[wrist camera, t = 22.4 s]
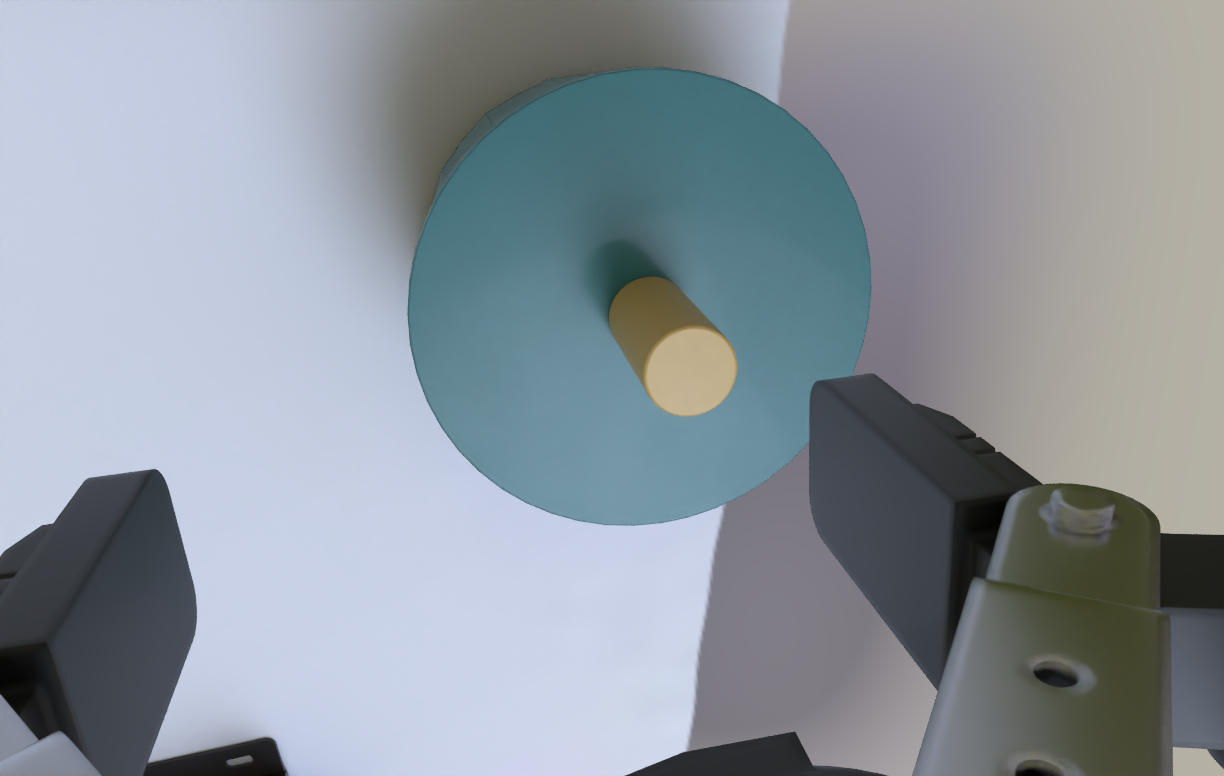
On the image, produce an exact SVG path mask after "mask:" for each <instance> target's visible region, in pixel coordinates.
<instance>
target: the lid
mask: <svg viewBox="0 0 1224 776" xmlns="http://www.w3.org/2000/svg"><path fill="white" fill-rule="evenodd" d="M870 297H871V270H870V256H869V250H868V245H867V239H866V233H865V229H864V225H863V222H862V219H861V216H860V213H859V210H858V207H857V203H856V201H855V199H854V197H853V195H852V193H851V191H850V188H849V187H848V184H847V182H846V180H845V178H844V176H843V174H842V173H841V171H840V170H839V168H838V167H837V165H836V164H835V162H834V161H833V160H832V158H831V156H830V155H829V153H828V152H827V151H826V149H825V148H824V147H823V146H822V145H821V144H820V143H819V142H818V140H817V139H816V138H815V137H814V136H813V135H812V134H811V133H810V131H809V130H808V129H807V128H806V127H804V126H803V125H802V124H801V123H800V122H798V121H797V120H796V119H795V118H794V117H793V116H791V115H790V114H789V113H788V112H787V111H785V110H784V109H783V108H781V107H779V106H778V105H776V104H775V103H773V102H771V101H770V100H768V99H767V98H765V97H763V96H762V95H760V94H759V93H757V92H754V91H752V90H750V89H747V88H745V87H743V86H740V85H738V84H736V83H734V82H731V81H729V80H725V79H722V78H718V77H714V76H711V75H707V74H703V73H700V72H695V71H688V70H680V69H672V68H664V67H646V68H625V69H619V70H612V71H606V72H600V73H595V74H592V75H588V76H585V77H582V78H579V79H575V80H572V81H569V82H566V83H563V84H561V85H559V86H557V87H555V88H552V89H550V90H548V91H546V92H544V93H542V94H539V95H537V96H535V97H533V98H532V99H530V100H529V101H527V102H526V103H524V104H522V105H521V106H519V107H518V108H516V109H515V110H513V111H512V112H510V113H508V114H507V115H506V116H504V117H503V118H502V119H501V120H500V121H499V122H497V123H496V124H495V125H494V126H493V127H491V128H490V129H489V130H488V131H487V132H486V133H484V134H483V135H482V136H481V137H480V138H479V139H478V140H477V141H476V142H475V144H474V145H473V146H472V147H471V148H470V149H469V150H468V151H467V152H466V154H465V155H464V156H463V157H462V158H461V159H460V160H459V162H458V163H457V164H456V166H455V167H454V169H453V170H452V172H451V173H450V175H449V176H448V178H447V179H446V181H445V182H444V183H443V185H442V186H441V188H440V190H439V192H438V194H437V196H436V198H435V200H434V202H433V204H432V206H431V208H430V210H429V212H428V214H427V216H426V218H425V221H424V224H423V227H422V230H421V233H420V236H419V239H418V242H417V245H416V248H415V253H414V258H413V263H412V268H411V273H410V279H409V297H408V325H409V337H410V346H411V351H412V355H413V359H414V364H415V368H416V373H417V376H418V379H419V381H420V384H421V386H422V389H423V392H424V394H425V397H426V400H427V402H428V404H429V406H430V408H431V409H432V411H433V413H434V415H435V417H436V419H437V420H438V422H439V424H440V426H441V428H442V429H443V430H444V432H445V433H446V434H447V436H448V437H449V438H450V440H451V441H452V442H453V444H454V445H455V446H456V448H457V449H458V450H459V452H460V453H461V454H462V455H463V456H464V457H465V458H466V459H467V460H468V461H469V462H470V463H471V464H472V465H473V466H474V467H475V468H476V469H477V470H478V471H479V472H481V473H482V474H483V475H484V476H486V477H487V478H488V479H490V480H491V481H492V482H493V483H495V484H496V485H497V486H499V487H500V488H501V489H503V490H505V491H506V492H508V493H510V494H512V495H513V496H515V497H517V498H519V499H520V500H522V501H524V502H525V503H528V504H530V505H533V506H535V507H537V508H540V509H542V510H545V511H547V512H549V513H552V514H555V515H559V516H563V517H566V518H570V519H574V520H577V521H583V522H590V523H597V524H603V525H632V526H634V525H645V524H655V523H663V522H668V521H673V520H678V519H682V518H687V517H691V516H694V515H697V514H699V513H702V512H705V511H708V510H711V509H714V508H717V507H719V506H721V505H723V504H725V503H727V502H730V501H732V500H734V499H736V498H738V497H740V496H742V495H744V494H745V493H747V492H748V491H750V490H752V489H753V488H755V487H757V486H758V485H760V484H761V483H763V482H765V481H766V480H767V479H768V478H770V477H771V476H773V475H774V474H775V473H776V472H778V471H779V470H780V469H781V468H783V467H784V466H785V465H786V464H788V463H789V462H790V461H791V460H792V459H793V458H794V457H795V456H796V455H797V454H798V453H799V452H800V451H801V450H802V449H803V448H804V447H805V446H806V445H807V444H808V443H809V402H810V393H811V389H812V386H813V385H814V383H815V382H816V381H819V380H827V379H834V378H841V377H849V376H852V374H853V372H854V369H855V366H856V363H857V360H858V357H859V354H860V352H861V349H862V346H863V342H864V337H865V332H866V327H867V323H868V318H869V309H870Z"/></svg>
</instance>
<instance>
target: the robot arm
mask: <svg viewBox="0 0 1224 776" xmlns="http://www.w3.org/2000/svg"><path fill="white" fill-rule="evenodd" d="M809 495H810V505H811V511H812V515H813V519H814V522H815V525H816V528H817V531H818V533H819V535H820V537H821V539H822V540H823V541H824V543H825V544H826V546H827V547H828V548H829V549H830V551H831V552H832V553H833V555H834V556H835V557H836V559H837V560H838V561H839V562H840V564H841V565H842V566H843V568H844V569H845V570H846V572H847V573H848V574H849V576H850V577H851V578H852V579H853V581H854V582H855V584H856V585H857V586H858V587H859V589H860V590H861V591H862V592H863V594H864V595H865V597H866V598H867V599H868V600H869V602H870V603H871V604H872V606H873V607H874V608H875V610H876V611H877V612H878V614H879V615H880V616H881V618H882V619H883V620H884V621H885V623H886V624H887V625H888V627H889V628H890V629H891V631H892V632H893V633H894V634H895V636H896V637H897V639H898V640H899V641H900V642H901V644H902V645H903V646H904V648H905V649H906V650H907V652H908V653H909V654H910V656H912V658H913V659H914V661H915V662H916V663H917V665H918V666H919V667H920V668H921V670H922V671H923V673H924V674H925V675H926V677H927V678H928V679H929V680H930V682H931V683H932V684H933V686H934V687H935V688H936V689H937V691H938V692H937V696H936V699H935V703H934V706H933V709H932V712H931V715H930V719H929V722H928V725H927V729H926V732H925V735H924V738H923V742H922V745H921V748H920V751H919V755H918V758H917V761H916V765H915V768H914V771H913V774H912V776H1173V747H1186V748H1201V749H1207V750H1208V751H1209V753H1210V754H1211V756H1212V757H1213V758H1214V759H1215V760H1216V761H1217V762H1218V763H1219V765H1220V766H1221V767H1222V768H1224V535H1201V534H1199V535H1198V534H1166V533H1165V534H1164V533H1160V523H1159V520H1158V518H1157V517H1156V515H1155V514H1154V513H1153V512H1152V511H1151V510H1150V509H1148V508H1147V507H1146V506H1145V505H1143V504H1142V503H1140V502H1138V501H1136V500H1134V499H1133V498H1130V497H1128V496H1125V495H1123V494H1120V493H1117V492H1114V491H1111V490H1107V489H1103V488H1099V487H1094V486H1088V485H1079V484H1063V483H1062V484H1061V483H1059V484H1045V485H1043V484H1042V483H1041V482H1039V481H1038V480H1037V479H1035V478H1034V477H1033V476H1031V475H1030V474H1029V473H1027V472H1026V471H1025V470H1023V469H1022V468H1021V467H1019V466H1018V465H1017V464H1015V463H1014V462H1013V461H1011V460H1010V459H1009V458H1007V457H1006V456H1005V455H1004V454H1002V453H1001V452H995V448H994V447H993V446H991V445H990V444H989V443H988V442H986V441H985V440H984V439H982V438H981V437H978V438H977V437H976V434H975V433H974V432H973V431H971V430H970V429H969V428H968V427H966V426H965V425H964V424H962V423H961V422H960V421H958V420H957V419H956V418H954V417H953V416H950V415H948V414H945V413H942V412H940V411H936V410H934V409H931V408H928V407H926V406H923V405H920V404H912V403H911V402H910V401H908V400H907V399H906V398H905V397H903V396H902V395H901V394H899V393H898V392H897V391H896V390H894V389H893V388H892V387H891V386H889V385H888V384H887V383H885V382H884V381H883V380H882V379H880V378H879V377H878V376H877V375H875V374H864V375H856V376H849V377H841V378H834V379H827V380H819V381H816V382H815V383H814V385H813V386H812V389H811V393H810V402H809ZM196 621H197V606H196V596H195V589H194V585H193V580H192V576H191V573H190V569H189V565H188V561H187V557H186V554H185V550H184V546H183V542H182V538H181V535H180V531H179V527H178V523H177V519H176V516H175V512H174V508H173V504H172V500H171V497H170V493H169V490H168V486H167V484H166V481H165V479H164V477H163V476H162V474H161V473H160V472H159V471H158V470H156V469H152V470H144V471H137V472H129V473H122V474H115V475H107V476H100V477H92V478H88V479H86V480H85V481H84V482H83V484H82V485H81V486H80V488H79V489H78V490H77V492H76V493H75V495H74V496H73V497H72V499H71V500H70V501H69V503H68V504H67V505H66V507H65V508H64V510H63V511H62V512H61V514H60V515H59V516H58V518H57V519H56V521H55V522H54V523H53V524H48V525H42V526H40V527H39V528H38V529H36V530H35V531H33V532H32V533H30V534H29V535H27V536H26V537H24V538H23V539H21V540H20V541H18V542H17V543H16V544H14V545H13V546H11V547H10V548H8V549H7V550H5V551H4V553H3V554H2V555H1V556H0V776H143V774H144V771H145V768H146V765H147V763H148V760H149V757H150V755H151V752H152V749H153V747H154V744H155V741H156V739H157V736H158V733H159V730H160V728H161V725H162V722H163V720H164V717H165V714H166V712H167V709H168V706H169V703H170V701H171V698H172V695H173V693H174V690H175V687H176V685H177V682H178V679H179V677H180V674H181V671H182V668H183V666H184V663H185V660H186V658H187V655H188V652H189V650H190V647H191V644H192V641H193V639H194V635H195V630H196ZM626 776H886V775H883V774H878V773H873V772H868V771H863V770H858V769H851V768H841V767H832V766H813V765H812V763H811V762H810V759H809V758H808V756H807V754H806V752H805V750H804V748H803V746H802V744H801V742H800V740H799V738H798V736H797V734H796V733H795V732H790V733H785V734H780V735H774V736H768V737H764V738H758V739H753V740H747V741H742V742H736V743H731V744H726V745H721V746H715V747H709V748H704V749H699V750H693V751H688V752H683V753H680V754H678V755H675V756H673V757H671V758H668V759H666V760H663V761H661V762H658V763H656V764H653V765H651V766H648V767H646V768H643V769H641V770H638V771H636V772H633V773H631V774H628V775H626Z"/></svg>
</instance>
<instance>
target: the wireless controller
mask: <svg viewBox="0 0 1224 776" xmlns="http://www.w3.org/2000/svg"><path fill="white" fill-rule="evenodd" d="M247 755H250V756H252V758H253V762H251V763H246V764H242V765H237V766H233V767H230V766H228V765H227V763H226V761H227V760H229V759H234V758H238V757H243V756H247ZM143 776H288V774H287V771H286V770H285V769H284V766H283V763H282V760H281V757H280V754H279V750H278V747H277V744H276V743H275V741H273V740H271V739H262V740H258V741H253V742H249V743H244V744H240V745H235V746H231V747H226V748H221V749H217V750H212V751H208V752H203V753H199V754H194V755H190V756H185V757H180V758H176V759H171V760H167V761H162V762H158V763H153V764H149V765H146V768H145V771H144V774H143Z"/></svg>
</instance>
